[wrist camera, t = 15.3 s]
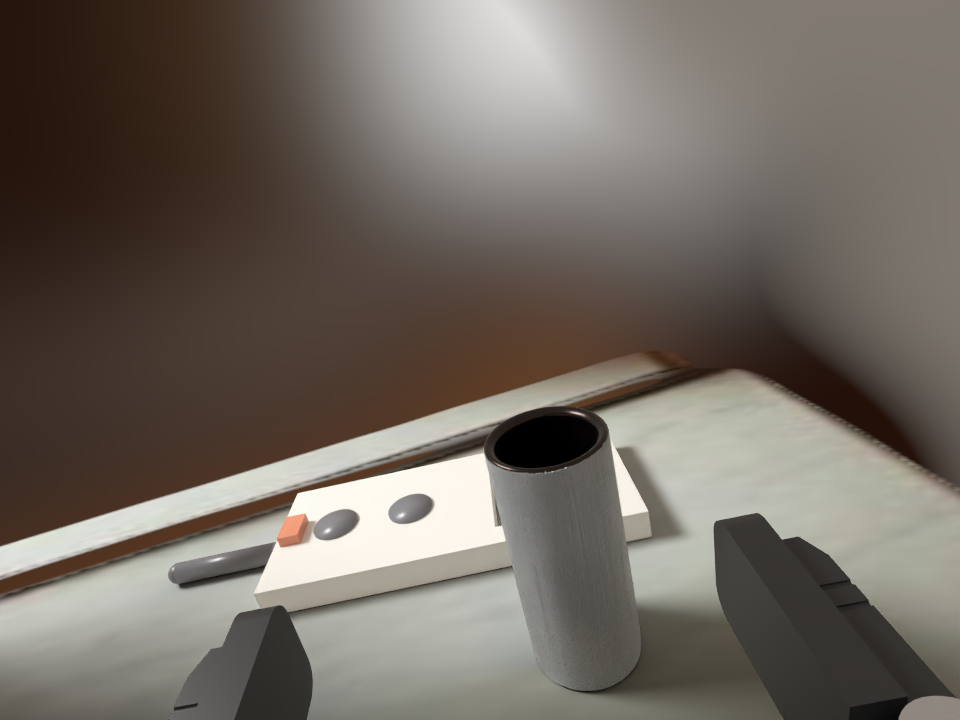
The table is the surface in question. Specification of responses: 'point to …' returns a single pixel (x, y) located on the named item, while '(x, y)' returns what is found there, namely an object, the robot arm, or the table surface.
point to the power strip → (388, 536)
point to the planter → (567, 543)
